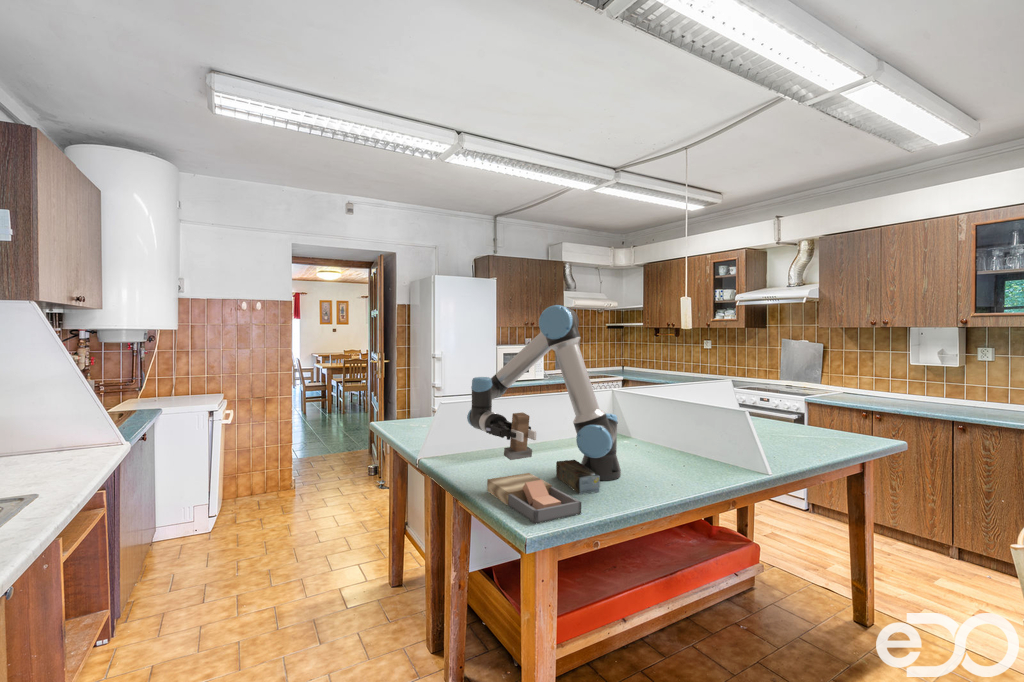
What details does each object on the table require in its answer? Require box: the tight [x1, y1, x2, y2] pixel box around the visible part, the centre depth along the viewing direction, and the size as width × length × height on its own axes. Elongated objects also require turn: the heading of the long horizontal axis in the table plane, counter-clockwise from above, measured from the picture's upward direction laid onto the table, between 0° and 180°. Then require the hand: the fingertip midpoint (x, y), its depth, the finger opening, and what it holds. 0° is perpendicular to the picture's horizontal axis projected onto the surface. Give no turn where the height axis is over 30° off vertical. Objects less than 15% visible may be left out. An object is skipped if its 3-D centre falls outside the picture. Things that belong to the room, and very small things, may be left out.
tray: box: [507, 486, 582, 525], centre depth 141 cm, size 15×16×4 cm
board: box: [486, 472, 553, 506], centre depth 154 cm, size 14×16×4 cm
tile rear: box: [523, 479, 549, 505], centre depth 146 cm, size 6×6×3 cm
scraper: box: [503, 412, 533, 461], centre depth 154 cm, size 4×8×14 cm, turn 120°
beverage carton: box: [555, 459, 601, 495], centre depth 165 cm, size 8×19×7 cm, turn 19°
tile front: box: [533, 495, 561, 510], centre depth 140 cm, size 6×6×3 cm
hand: (528, 436), depth 149 cm, fingers closed on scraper, 4 cm apart
